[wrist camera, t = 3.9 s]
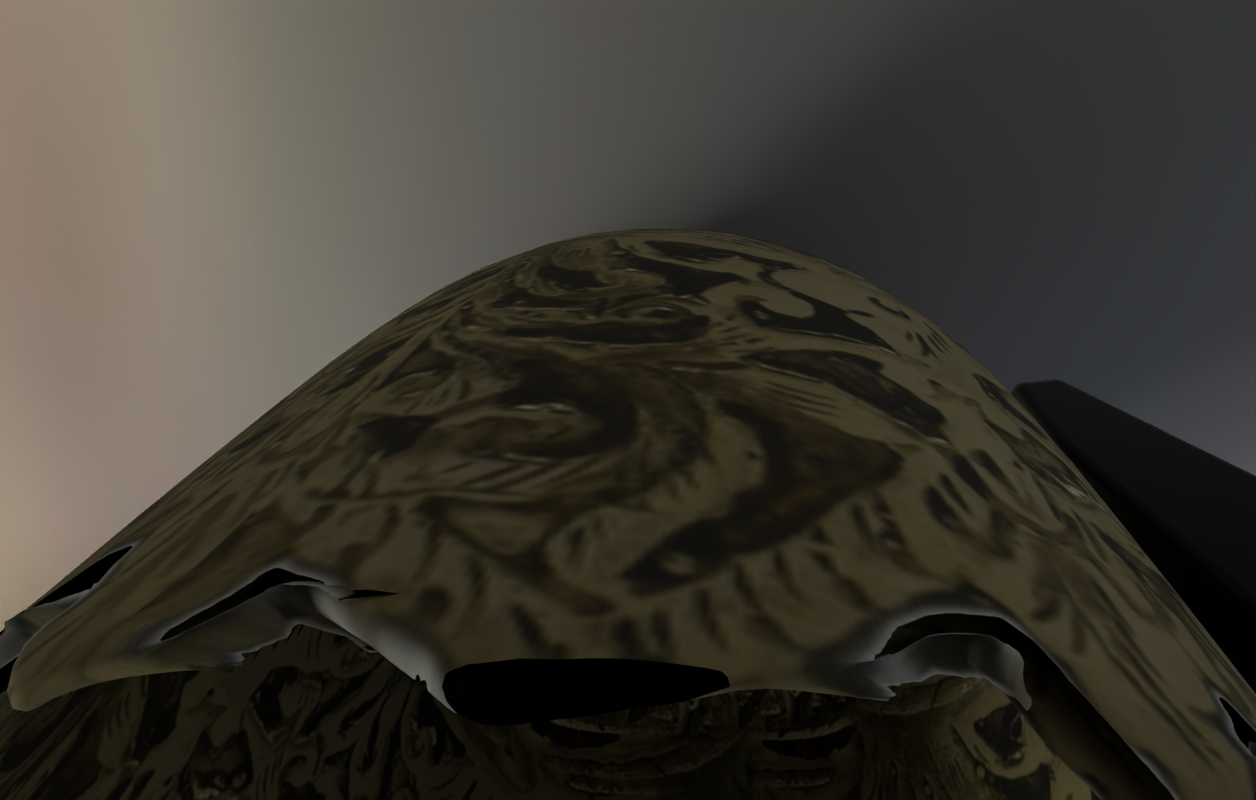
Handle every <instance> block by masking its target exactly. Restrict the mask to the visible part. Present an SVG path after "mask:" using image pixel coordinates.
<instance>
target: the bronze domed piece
mask: <svg viewBox="0 0 1256 800" xmlns="http://www.w3.org/2000/svg"><path fill="white" fill-rule="evenodd" d="M4 623H5V624H4V625H5V627H4V629H3V630H2V631H1V632H0V800H1256V694H1255V692H1254V691H1253V690H1252V688H1251V687H1250V686H1249V685H1248V683H1247V682H1246V681H1245V679H1244V678H1243V677H1242V676H1241V674H1240V673H1239V672H1238V670H1237V669H1236V668H1235V667H1234V665H1233V664H1232V663H1231V662H1230V660H1229V659H1228V658H1227V656H1226V655H1225V654H1224V653H1223V651H1222V650H1221V649H1220V647H1219V646H1218V645H1217V644H1216V642H1215V641H1214V640H1213V639H1212V637H1211V636H1210V635H1209V633H1208V632H1207V631H1206V630H1205V628H1204V627H1203V626H1202V624H1201V623H1200V622H1199V621H1198V619H1197V618H1196V617H1195V615H1194V614H1193V613H1192V612H1191V610H1190V609H1189V608H1188V607H1187V605H1186V604H1185V603H1184V602H1183V600H1182V599H1181V598H1180V596H1179V595H1178V594H1177V593H1176V591H1175V590H1174V589H1173V588H1172V586H1171V585H1170V584H1169V583H1168V581H1167V580H1166V579H1165V577H1164V576H1163V575H1162V574H1161V572H1160V571H1159V570H1158V569H1157V567H1156V566H1155V565H1154V564H1153V562H1152V561H1151V560H1150V558H1149V557H1148V556H1147V555H1146V553H1145V552H1144V551H1143V550H1142V548H1141V547H1140V546H1139V545H1138V543H1137V542H1136V541H1135V540H1134V538H1133V537H1132V536H1131V535H1130V533H1129V532H1128V531H1127V530H1126V528H1125V527H1124V526H1123V525H1122V523H1121V522H1120V521H1119V520H1118V518H1117V517H1116V516H1115V515H1114V513H1113V512H1112V511H1111V510H1110V508H1109V507H1108V506H1107V505H1106V503H1105V502H1104V501H1103V500H1102V498H1101V497H1100V496H1099V495H1098V494H1097V492H1096V491H1095V490H1094V489H1093V487H1092V486H1091V485H1090V484H1089V483H1088V481H1087V480H1086V479H1085V478H1084V476H1083V475H1082V474H1081V473H1080V471H1079V470H1078V469H1077V468H1076V467H1075V465H1074V464H1073V463H1072V462H1071V460H1070V459H1069V458H1068V457H1067V455H1066V454H1065V453H1064V452H1063V451H1062V450H1061V448H1060V447H1059V446H1058V445H1057V444H1056V443H1055V442H1054V440H1053V439H1052V438H1051V437H1050V436H1049V435H1048V434H1047V433H1046V431H1045V430H1044V429H1043V428H1042V427H1041V426H1040V425H1039V423H1038V422H1037V421H1036V420H1035V419H1034V418H1033V417H1032V416H1031V414H1030V413H1029V412H1028V411H1027V410H1026V409H1025V408H1024V407H1023V406H1022V405H1021V404H1020V403H1019V402H1018V401H1017V400H1016V399H1015V398H1014V397H1013V396H1012V395H1011V394H1010V393H1009V392H1008V391H1007V390H1006V389H1005V387H1004V386H1003V385H1002V384H1001V383H1000V382H999V381H998V380H997V379H996V378H995V377H994V376H993V375H992V374H991V373H990V372H989V371H988V370H987V369H986V368H984V367H983V366H982V365H981V364H980V363H979V362H978V361H977V360H976V359H975V358H974V357H973V356H972V355H971V354H970V353H969V352H968V351H967V350H966V349H965V348H964V347H963V346H961V345H960V344H959V343H958V342H956V341H955V340H954V339H953V338H951V337H950V336H949V335H947V334H946V333H945V332H944V331H942V330H941V329H940V328H939V327H937V326H936V325H935V324H934V323H932V322H931V321H930V320H928V319H927V318H926V317H925V316H923V315H922V314H920V313H919V312H917V311H916V310H914V309H913V308H911V307H910V306H908V305H907V304H905V303H904V302H902V301H901V300H899V299H897V298H896V297H894V296H892V295H891V294H889V293H887V292H886V291H884V290H883V289H881V288H879V287H878V286H876V285H874V284H873V283H871V282H869V281H868V280H866V279H864V278H862V277H860V276H858V275H856V274H854V273H852V272H849V271H847V270H845V269H843V268H841V267H839V266H836V265H834V264H832V263H830V262H828V261H826V260H823V259H821V258H818V257H815V256H812V255H809V254H806V253H803V252H800V251H797V250H794V249H791V248H788V247H785V246H782V245H779V244H775V243H771V242H766V241H762V240H757V239H752V238H748V237H743V236H739V235H734V234H727V233H718V232H709V231H699V230H690V229H634V230H625V231H615V232H606V233H597V234H590V235H586V236H581V237H577V238H572V239H568V240H564V241H559V242H555V243H550V244H547V245H544V246H541V247H539V248H536V249H533V250H530V251H527V252H524V253H521V254H519V255H516V256H513V257H510V258H507V259H505V260H502V261H499V262H497V263H494V264H491V265H489V266H486V267H484V268H482V269H480V270H478V271H476V272H474V273H472V274H470V275H468V276H466V277H464V278H461V279H459V280H457V281H455V282H453V283H451V284H449V285H447V286H445V287H443V288H442V289H440V290H438V291H437V292H435V293H433V294H432V295H430V296H428V297H427V298H425V299H423V300H422V301H420V302H418V303H417V304H415V305H413V306H412V307H410V308H408V309H407V310H405V311H404V312H402V313H401V314H399V315H398V316H396V317H395V318H393V319H392V320H390V321H389V322H387V323H386V324H384V325H383V326H381V327H380V328H378V329H377V330H375V331H374V332H372V333H371V334H369V335H368V336H367V337H365V338H364V339H362V340H361V341H360V342H358V343H357V344H355V345H354V346H353V347H351V348H350V349H348V350H347V351H346V352H344V353H343V354H341V355H340V356H339V357H337V358H336V359H335V360H333V361H332V362H330V363H329V364H328V365H327V366H325V367H324V368H323V369H321V370H320V371H319V372H318V373H316V374H315V375H314V376H312V377H311V378H310V379H309V380H307V381H306V382H305V383H303V384H302V385H301V386H300V387H298V388H297V389H296V390H294V391H293V392H292V393H291V394H289V395H288V396H287V397H285V398H284V399H283V400H282V401H280V402H279V403H278V404H277V405H275V406H274V407H273V408H272V409H270V410H269V411H268V412H266V413H265V414H264V415H263V416H261V417H260V418H259V419H258V420H256V421H255V422H254V423H253V424H251V425H250V426H249V427H248V428H246V429H245V430H244V431H243V432H241V433H240V434H239V435H237V436H236V437H235V438H234V439H233V440H231V441H230V442H229V443H228V444H226V445H225V446H224V447H223V448H221V449H220V450H219V451H218V452H216V453H215V454H214V455H213V456H211V457H210V458H209V459H208V460H207V461H205V462H204V463H203V464H202V465H200V466H199V467H198V468H197V469H195V470H194V471H193V472H192V473H190V474H189V475H188V476H187V477H185V478H184V479H183V480H182V481H181V482H179V483H178V484H177V485H176V486H175V487H173V488H172V489H171V490H170V491H168V492H167V493H166V494H165V495H164V496H162V497H161V498H160V499H159V500H157V501H156V502H155V503H154V504H153V505H151V506H150V507H149V508H148V509H146V510H145V511H144V512H143V513H142V514H140V515H139V516H138V517H137V518H136V519H134V520H133V521H132V522H131V523H129V524H128V525H127V526H126V527H125V528H123V529H122V530H121V531H120V532H119V533H117V534H116V535H115V536H114V537H113V538H111V539H110V540H109V541H108V542H107V543H105V544H104V545H103V546H102V547H101V548H99V549H98V550H97V551H96V552H95V553H93V554H92V555H91V556H90V557H89V558H87V559H86V560H85V561H84V562H83V563H81V564H80V565H79V566H78V567H77V568H76V569H74V570H73V571H72V572H71V573H70V574H68V575H67V576H66V577H65V578H64V579H62V580H61V581H60V582H59V583H58V584H56V585H55V586H54V587H53V588H52V589H51V590H49V591H48V592H47V593H46V594H45V595H43V596H42V597H41V598H40V599H38V600H37V601H36V602H35V603H33V604H32V605H31V606H29V607H28V608H27V609H26V610H23V611H22V612H20V613H19V614H17V615H16V616H14V617H13V618H11V619H9V620H8V621H6V622H4Z"/></svg>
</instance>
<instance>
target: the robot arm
mask: <svg viewBox="0 0 1256 800" xmlns="http://www.w3.org/2000/svg"><path fill="white" fill-rule="evenodd" d="M1012 396H1013V397H1014V398H1015V399H1016V400H1017V401H1018V402H1019V403H1020V404H1021V405H1022V406H1023V407H1024V408H1025V409H1026V410H1027V411H1028V412H1029V413H1030V414H1031V416H1032V417H1033V418H1034V419H1035V420H1036V421H1037V422H1038V423H1039V425H1040V426H1041V427H1042V428H1043V429H1044V430H1045V431H1046V433H1047V434H1048V435H1049V436H1050V437H1051V438H1052V439H1053V440H1054V442H1055V443H1056V444H1057V445H1058V446H1059V447H1060V448H1061V450H1062V451H1063V452H1064V453H1065V454H1066V455H1067V457H1068V458H1069V459H1070V460H1071V462H1072V463H1073V464H1074V465H1075V467H1076V468H1077V469H1078V470H1079V471H1080V473H1081V474H1082V475H1083V476H1084V478H1085V479H1086V480H1087V481H1088V483H1089V484H1090V485H1091V486H1092V487H1093V489H1094V490H1095V491H1096V492H1097V494H1098V495H1099V496H1100V497H1101V498H1102V500H1103V501H1104V502H1105V503H1106V505H1107V506H1108V507H1109V508H1110V510H1111V511H1112V512H1113V513H1114V515H1115V516H1116V517H1117V518H1118V520H1119V521H1120V522H1121V523H1122V525H1123V526H1124V527H1125V528H1126V530H1127V531H1128V532H1129V533H1130V535H1131V536H1132V537H1133V538H1134V540H1135V541H1136V542H1137V543H1138V545H1139V546H1140V547H1141V548H1142V550H1143V551H1144V552H1145V553H1146V555H1147V556H1148V557H1149V558H1150V560H1151V561H1152V562H1153V564H1154V565H1155V566H1156V567H1157V569H1158V570H1159V571H1160V572H1161V574H1162V575H1163V576H1164V577H1165V579H1166V580H1167V581H1168V583H1169V584H1170V585H1171V586H1172V588H1173V589H1174V590H1175V591H1176V593H1177V594H1178V595H1179V596H1180V598H1181V599H1182V600H1183V602H1184V603H1185V604H1186V605H1187V607H1188V608H1189V609H1190V610H1191V612H1192V613H1193V614H1194V615H1195V617H1196V618H1197V619H1198V621H1199V622H1200V623H1201V624H1202V626H1203V627H1204V628H1205V630H1206V631H1207V632H1208V633H1209V635H1210V636H1211V637H1212V639H1213V640H1214V641H1215V642H1216V644H1217V645H1218V646H1219V647H1220V649H1221V650H1222V651H1223V653H1224V654H1225V655H1226V656H1227V658H1228V659H1229V660H1230V662H1231V663H1232V664H1233V665H1234V667H1235V668H1236V669H1237V670H1238V672H1239V673H1240V674H1241V676H1242V677H1243V678H1244V679H1245V681H1246V682H1247V683H1248V685H1249V686H1250V687H1251V688H1252V690H1253V691H1254V692H1255V694H1256V476H1255V475H1253V474H1251V473H1249V472H1247V471H1244V470H1242V469H1240V468H1238V467H1236V466H1234V465H1232V464H1230V463H1228V462H1226V461H1224V460H1222V459H1220V458H1218V457H1216V456H1214V455H1212V454H1210V453H1208V452H1206V451H1204V450H1202V449H1200V448H1198V447H1195V446H1193V445H1191V444H1189V443H1187V442H1185V441H1183V440H1181V439H1179V438H1177V437H1175V436H1173V435H1171V434H1169V433H1167V432H1165V431H1163V430H1161V429H1159V428H1157V427H1155V426H1153V425H1151V424H1149V423H1146V422H1144V421H1142V420H1140V419H1138V418H1136V417H1134V416H1132V415H1130V414H1128V413H1126V412H1124V411H1122V410H1120V409H1118V408H1116V407H1114V406H1112V405H1110V404H1108V403H1106V402H1104V401H1102V400H1100V399H1097V398H1095V397H1093V396H1091V395H1089V394H1087V393H1085V392H1083V391H1081V390H1079V389H1077V388H1075V387H1073V386H1071V385H1069V384H1067V383H1065V382H1062V381H1060V380H1047V381H1036V382H1026V383H1020V384H1017V385H1016V386H1015V387H1014V389H1013V391H1012Z"/></svg>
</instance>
